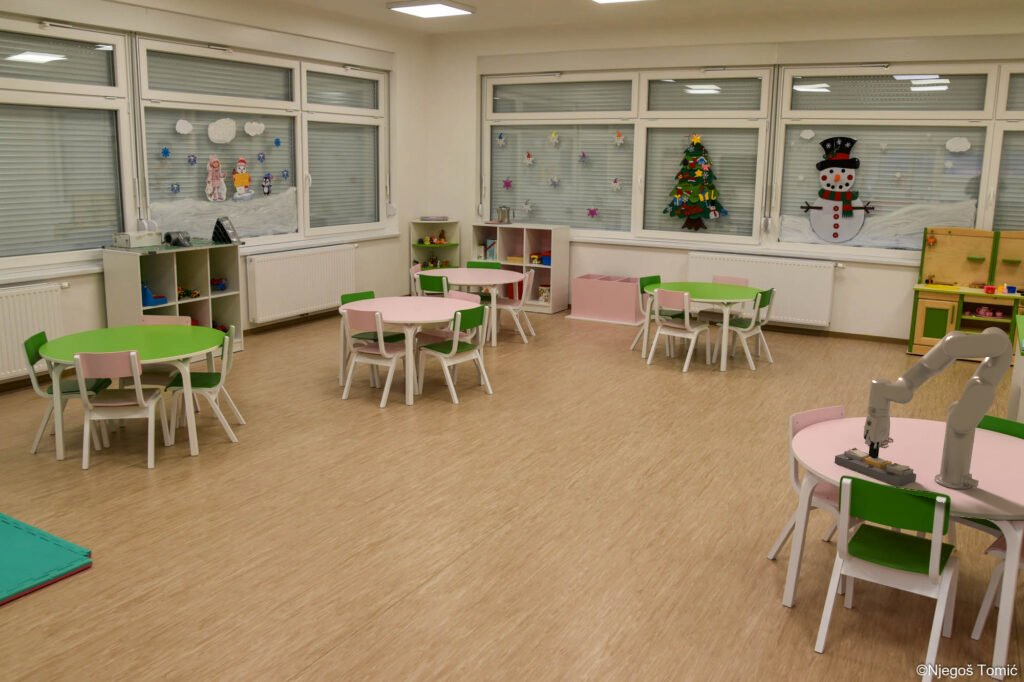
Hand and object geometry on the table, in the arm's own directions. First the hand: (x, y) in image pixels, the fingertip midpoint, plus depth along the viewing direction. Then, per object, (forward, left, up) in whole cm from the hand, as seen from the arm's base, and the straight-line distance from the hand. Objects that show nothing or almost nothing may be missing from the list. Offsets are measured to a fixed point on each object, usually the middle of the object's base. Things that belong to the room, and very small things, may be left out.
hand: (873, 456), depth 323 cm
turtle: (+19, -30, -6) cm, 36 cm away
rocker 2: (-11, 0, -1) cm, 11 cm away
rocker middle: (-2, 0, -1) cm, 2 cm away
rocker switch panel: (-2, +2, -5) cm, 6 cm away
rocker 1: (+7, 0, -1) cm, 7 cm away
